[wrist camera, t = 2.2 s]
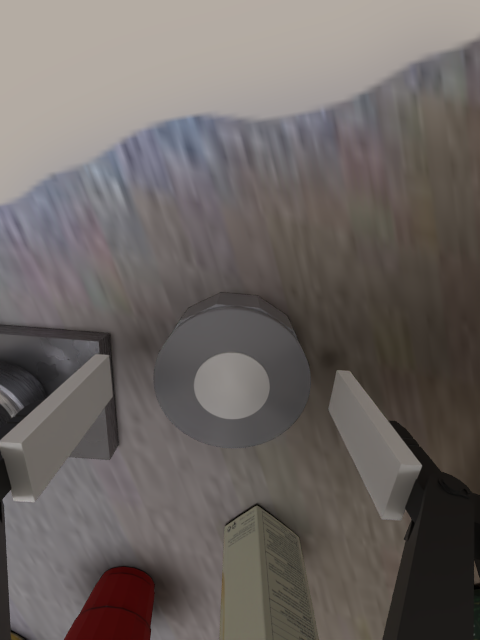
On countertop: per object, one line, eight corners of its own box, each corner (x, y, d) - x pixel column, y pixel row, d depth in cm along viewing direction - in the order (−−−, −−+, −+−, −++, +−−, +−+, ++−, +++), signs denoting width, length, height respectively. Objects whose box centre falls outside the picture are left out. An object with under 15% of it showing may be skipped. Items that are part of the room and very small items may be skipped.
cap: (307, 299, 18) (324, 318, 14) (288, 413, 21) (299, 456, 17) (170, 288, 18) (150, 305, 14) (171, 404, 21) (154, 445, 17)
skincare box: (222, 524, 25) (204, 774, 14) (257, 501, 24) (268, 749, 13) (268, 559, 27) (287, 810, 15) (303, 538, 26) (351, 791, 14)
